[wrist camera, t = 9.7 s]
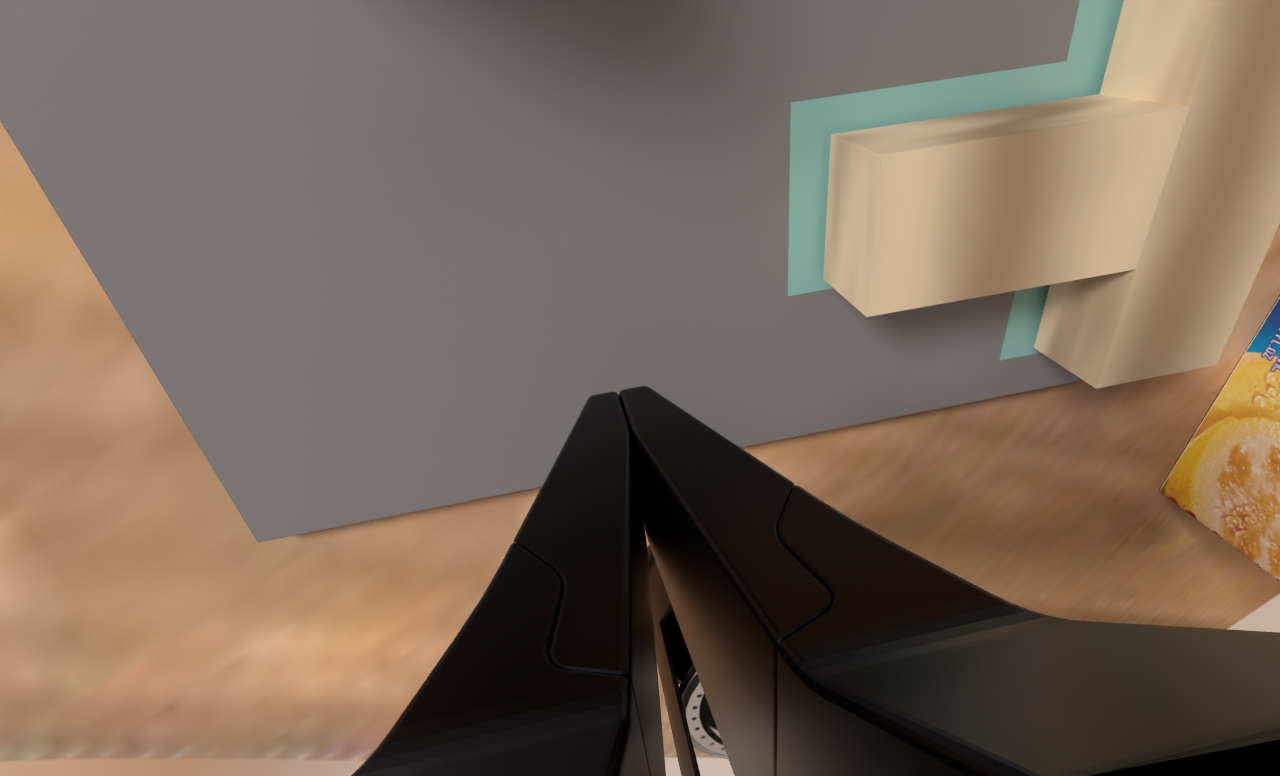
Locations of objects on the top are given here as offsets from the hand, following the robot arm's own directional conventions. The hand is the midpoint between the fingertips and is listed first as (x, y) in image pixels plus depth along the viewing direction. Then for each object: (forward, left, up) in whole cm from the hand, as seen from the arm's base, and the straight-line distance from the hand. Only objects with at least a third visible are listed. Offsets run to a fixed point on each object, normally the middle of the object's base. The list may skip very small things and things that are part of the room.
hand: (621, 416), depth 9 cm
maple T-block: (-14, +1, -11) cm, 18 cm away
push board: (-5, +1, -12) cm, 13 cm away
